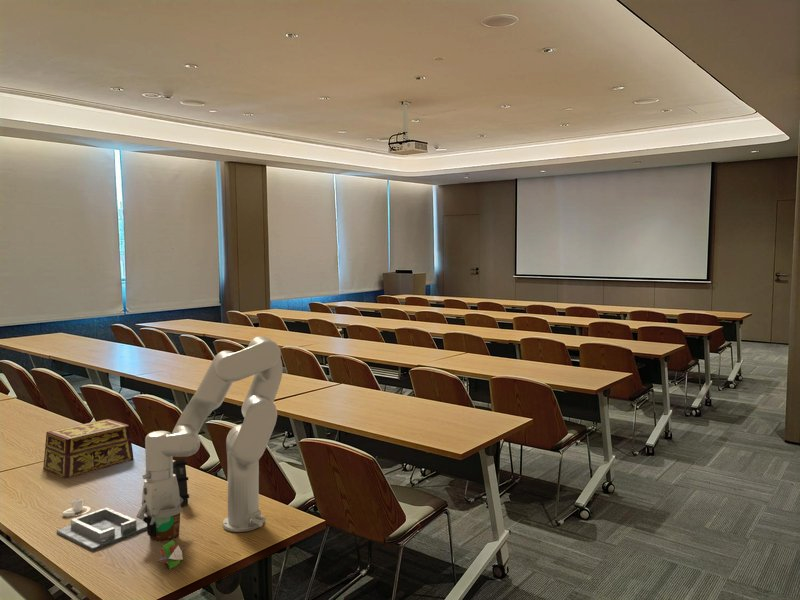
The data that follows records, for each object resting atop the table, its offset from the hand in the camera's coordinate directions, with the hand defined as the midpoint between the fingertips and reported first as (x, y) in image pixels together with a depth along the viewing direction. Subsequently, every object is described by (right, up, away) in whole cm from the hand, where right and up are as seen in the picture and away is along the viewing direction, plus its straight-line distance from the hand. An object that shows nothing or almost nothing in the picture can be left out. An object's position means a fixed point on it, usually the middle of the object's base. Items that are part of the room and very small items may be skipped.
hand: (161, 531), depth 180 cm
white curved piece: (-38, -1, +18) cm, 42 cm away
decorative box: (-55, +2, +64) cm, 84 cm away
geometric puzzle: (+9, -3, -16) cm, 19 cm away
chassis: (-19, -1, +4) cm, 20 cm away
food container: (0, -2, 0) cm, 2 cm away
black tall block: (-5, 0, +28) cm, 29 cm away
